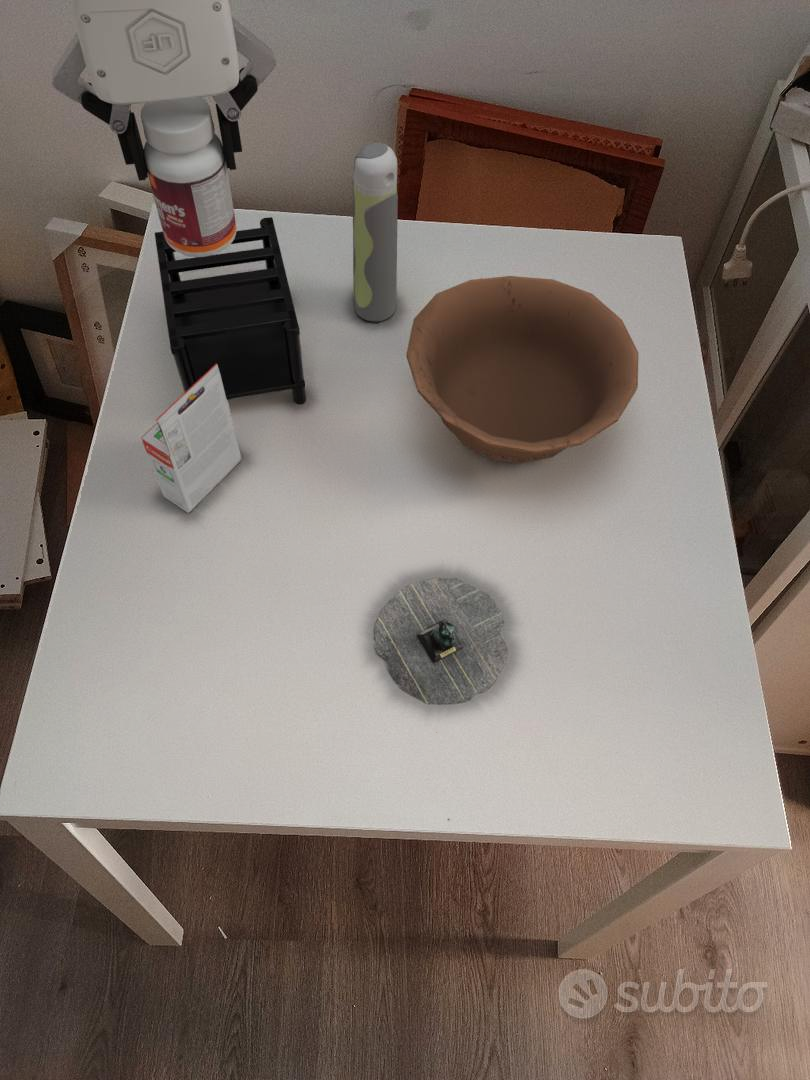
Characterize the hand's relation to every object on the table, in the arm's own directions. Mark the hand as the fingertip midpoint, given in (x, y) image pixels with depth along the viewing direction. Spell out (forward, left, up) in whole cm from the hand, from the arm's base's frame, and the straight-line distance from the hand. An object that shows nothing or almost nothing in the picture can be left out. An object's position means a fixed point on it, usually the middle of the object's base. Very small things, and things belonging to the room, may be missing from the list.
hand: (186, 162), depth 65 cm
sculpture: (+14, -33, -27) cm, 45 cm away
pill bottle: (0, 0, -7) cm, 7 cm away
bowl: (+27, -11, -27) cm, 40 cm away
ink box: (-5, -11, -27) cm, 30 cm away
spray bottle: (+17, +8, -27) cm, 33 cm away
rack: (+1, +4, -27) cm, 27 cm away
